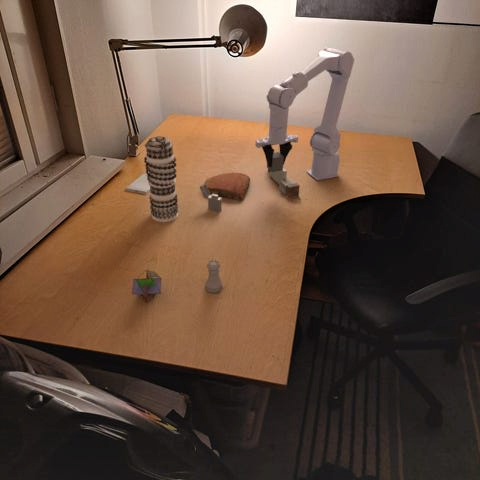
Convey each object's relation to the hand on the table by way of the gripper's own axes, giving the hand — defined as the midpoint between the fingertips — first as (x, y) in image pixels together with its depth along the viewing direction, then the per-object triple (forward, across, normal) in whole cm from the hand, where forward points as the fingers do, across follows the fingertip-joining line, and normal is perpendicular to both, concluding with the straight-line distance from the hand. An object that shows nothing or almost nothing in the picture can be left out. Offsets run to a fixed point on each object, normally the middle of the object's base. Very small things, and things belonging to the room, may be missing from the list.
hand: (275, 164), depth 150 cm
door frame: (+10, -5, -7) cm, 13 cm away
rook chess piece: (+11, +37, +41) cm, 56 cm away
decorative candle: (+11, +39, +2) cm, 40 cm away
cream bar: (+10, -5, -7) cm, 13 cm away
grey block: (+2, 0, 0) cm, 2 cm away
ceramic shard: (+11, +14, -9) cm, 20 cm away
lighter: (+11, +24, +2) cm, 26 cm away
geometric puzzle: (+11, +53, +38) cm, 66 cm away
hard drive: (+11, +40, -21) cm, 47 cm away
